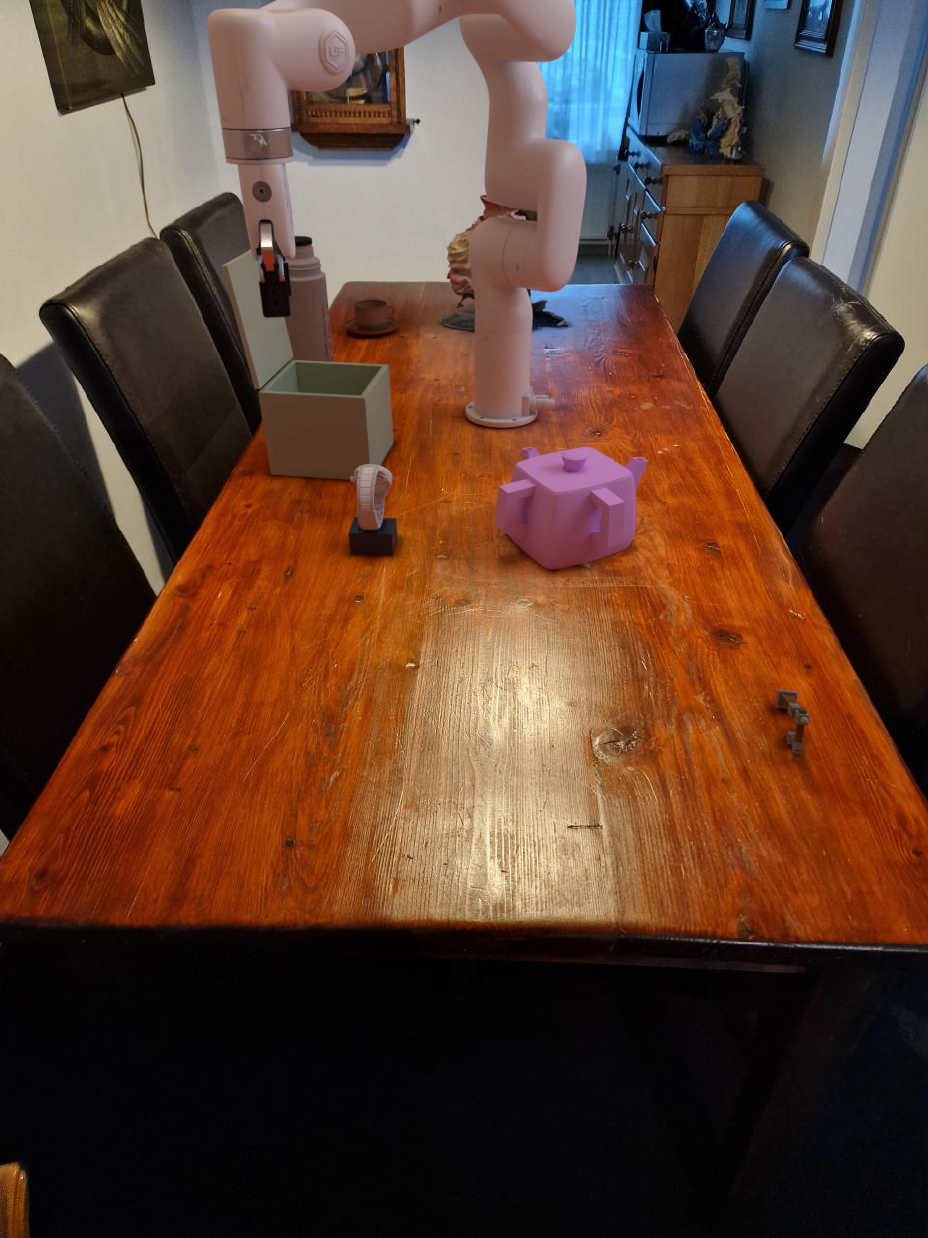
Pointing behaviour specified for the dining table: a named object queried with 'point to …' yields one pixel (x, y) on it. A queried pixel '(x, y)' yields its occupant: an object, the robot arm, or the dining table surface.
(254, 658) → the dining table surface
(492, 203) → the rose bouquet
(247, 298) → the lid
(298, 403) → the grey open box
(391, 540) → the watch
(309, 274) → the thermos bottle
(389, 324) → the cup and saucer
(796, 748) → the grey jointed linkage
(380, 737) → the dining table surface
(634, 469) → the teakettle
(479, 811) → the dining table surface
